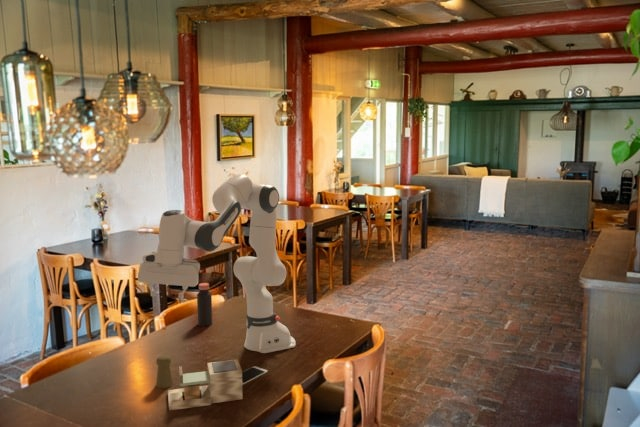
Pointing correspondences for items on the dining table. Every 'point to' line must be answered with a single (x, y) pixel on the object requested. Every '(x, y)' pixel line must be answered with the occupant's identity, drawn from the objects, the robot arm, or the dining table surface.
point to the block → (192, 392)
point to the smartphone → (252, 374)
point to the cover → (193, 378)
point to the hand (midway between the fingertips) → (167, 297)
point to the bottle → (204, 305)
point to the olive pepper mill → (164, 372)
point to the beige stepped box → (213, 387)
